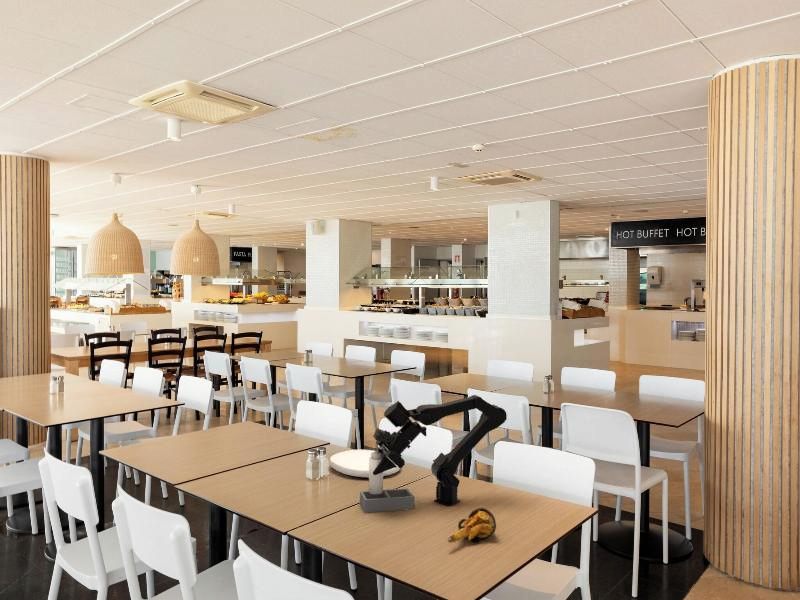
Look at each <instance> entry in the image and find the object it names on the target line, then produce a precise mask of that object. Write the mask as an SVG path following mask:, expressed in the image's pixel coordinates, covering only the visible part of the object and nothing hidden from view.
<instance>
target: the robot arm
mask: <svg viewBox="0 0 800 600" xmlns="http://www.w3.org/2000/svg"><path fill="white" fill-rule="evenodd" d="M475 409H477V410H478V411H479V412H480V413H481V414H480V416H479V419H478V422H477V423H476V424H475V425H474V426H473V427H472V429H470V430H469V432H467V434H465V435H464V437H463V438H461V440H460V441H459V442H458V443H457V444H456V445H455V446H454V448H452V449H451V450H450V451H449V452H447V453H446V454H444V453H443V452H440V453H439V454H438V456H437V457H436V458H434V459H433V460H432V462H433V463H432V464H431V468H430V470H431V473H432V475H433V476H434V477H435V478H436V481H437V483H436V486H435V494H436V495H435V499H434V500H433V502H434V503H438V504H441V505H444V506H448V507H449V506H453V505H455V504H457V503H459V502H460V501H461V499H459V498H458V489H459V488H458V487H459V485H460V482H461V481H460V479H458V477H456V475H455V474H457V470H458V468H459V467H460V466H459V465H460V463H461V462H462V461H463V459H465V457H466V456H467V455H468V454H469V453H471V451H472V450H473V449H474V448H475V447H476V445H478V444H479V443H480V441H482V440H483V438H484V437H486V436H487V434H488V433H489V432H492V431H494V430H496V429H498V428H499V427H500V426H501V425H503V424H504V423H505V422H506V421H507V418H508V417H507V415H508V414H507V412H506V409H504V408H502V407H500V406H498V405H495V404H491V403H489V401H488V402H487V401H486V400H484V399H483V398H482V397H481V396H479V395H476V394H473V395H471V396H467V397H463V398H460V399H459V398H458V399H456V400H453V401H449V402H445V403H440V404H434V403H433V404H431V403H429V404H420V405H419V406H417V407H416V408H413V409H407V408H405V406H404V405H403V404H402V402H400V400H397V401H396V402H394V403H393V404H391V405H390V406H388V407H387V408H386V410H385V411H384V412H383V413H384V414H383V416H384V418H386V419H387V420H388V421H389V422H390V423H391V424H392V425H393V427H394V428H400V429H399V430H398V431H393V432H392V433H391V432H390V431H387V430H383V429H381V428H379V427H376V429H375V431H374V433H373V436H372V438H374V440H375V441H376V442H375V444H376V445H378V446H376V451H378V452H380V453H381V457H382V460H381V461H380V463H379V464H378V466H377V467H376V468H375V470H374V471H373V474H374V475H377V474H379V473H382V472H384V471H387V470H389V469H392V468H396V467H397V466H398V467H399V468H400V469H399V470H401V469H403V467H404V466H405V462H406V460H405V459H404V458H403V457H402V456H403V455H402V453H404V451H406V449H410V448H411V443H413V442H414V440H415V439H416V438H417V437H418V436H419V435H420V434H422V435H423V436H424V437H427V426H431V425H433V424H435V423H437V422H439V421H440V420H442V419H443V418H446V417H448V416H452V415H453V416H454V415H456V414H460V413H465V412H467V411H471V410H475ZM410 418H411V419H412V420H411V419H410ZM420 423H421V424H420ZM422 425H424V426H422ZM396 465H397V466H396Z"/></svg>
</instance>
